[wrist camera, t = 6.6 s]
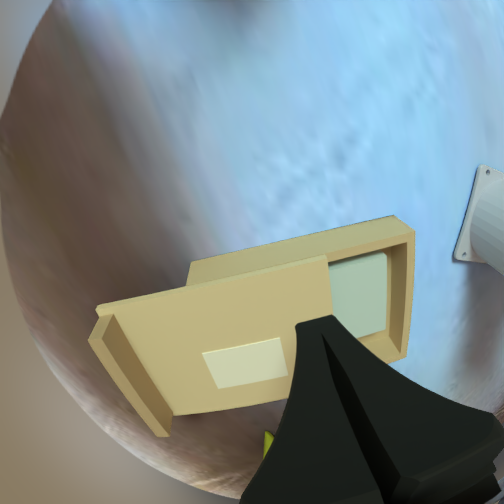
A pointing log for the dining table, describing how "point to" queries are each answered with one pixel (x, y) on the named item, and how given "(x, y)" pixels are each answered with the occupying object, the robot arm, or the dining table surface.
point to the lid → (211, 340)
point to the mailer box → (345, 277)
